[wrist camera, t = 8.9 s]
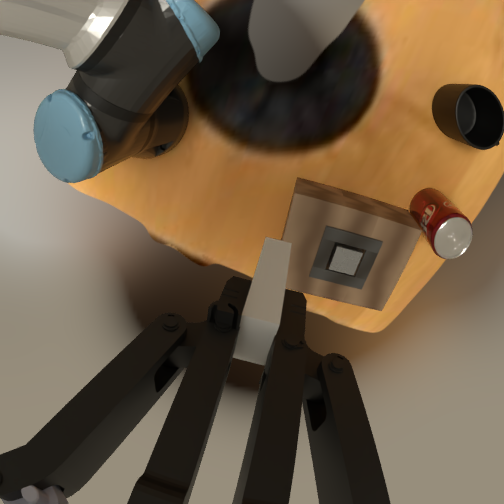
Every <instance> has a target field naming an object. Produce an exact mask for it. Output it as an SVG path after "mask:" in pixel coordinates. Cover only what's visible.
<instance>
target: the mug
mask: <svg viewBox="0 0 504 504" xmlns="http://www.w3.org/2000/svg"><path fill="white" fill-rule="evenodd" d="M432 110H433V116H434V119H435V122H436V124H437V126H438V127H439V129H440V130H441V131H442V132H443V133H444V134H445V135H447V136H448V137H450V138H453V139H455V140H458V141H460V142H463V143H465V144H467V145H470V146H472V147H474V148H477V149H481V150H486V149H490V148H492V147H494V146H495V145H496V146H498V145H499V141H500V139H501V137H502V135H503V132H504V111H503V108H502V105H501V103H500V101H499V99H498V98H497V96H496V95H495V94H494V93H493V92H492V91H491V90H489V89H488V88H486V87H484V86H481V85H472V84H447V85H445V86H443V87H441V88H440V89H439V90H438V91H437V92H436V94H435V96H434V99H433V104H432Z"/></svg>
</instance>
